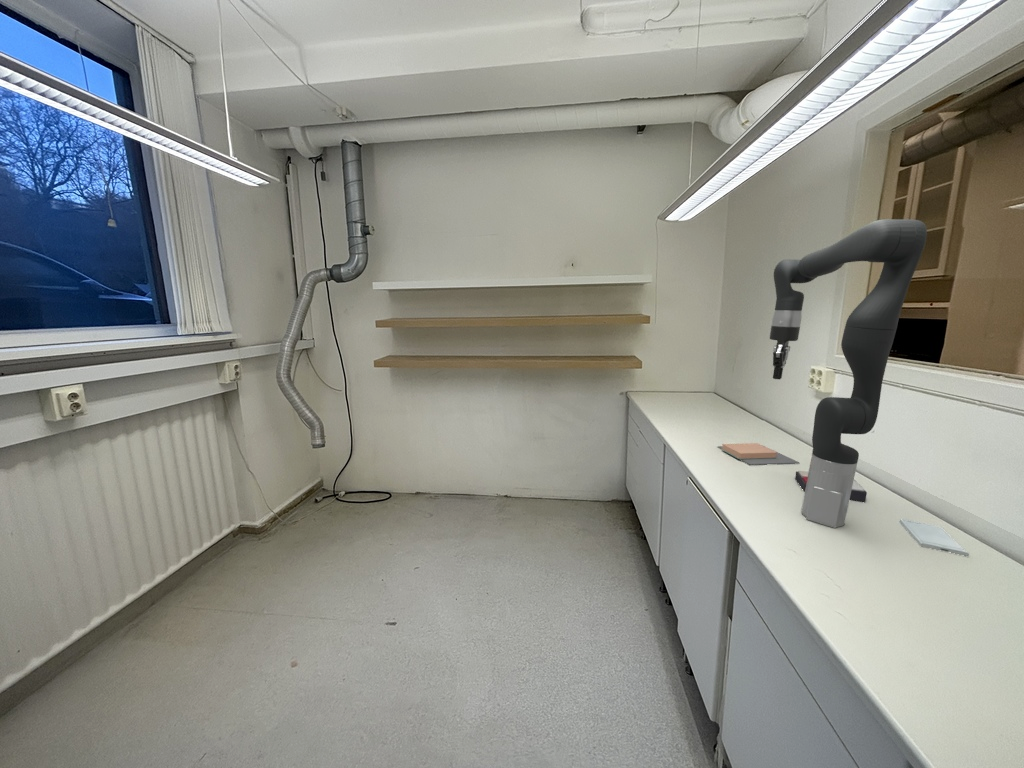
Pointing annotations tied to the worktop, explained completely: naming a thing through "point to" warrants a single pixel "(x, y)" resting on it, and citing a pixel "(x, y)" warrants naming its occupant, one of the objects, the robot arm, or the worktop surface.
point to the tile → (749, 451)
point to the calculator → (856, 491)
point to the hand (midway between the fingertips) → (777, 378)
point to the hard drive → (932, 537)
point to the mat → (769, 460)
